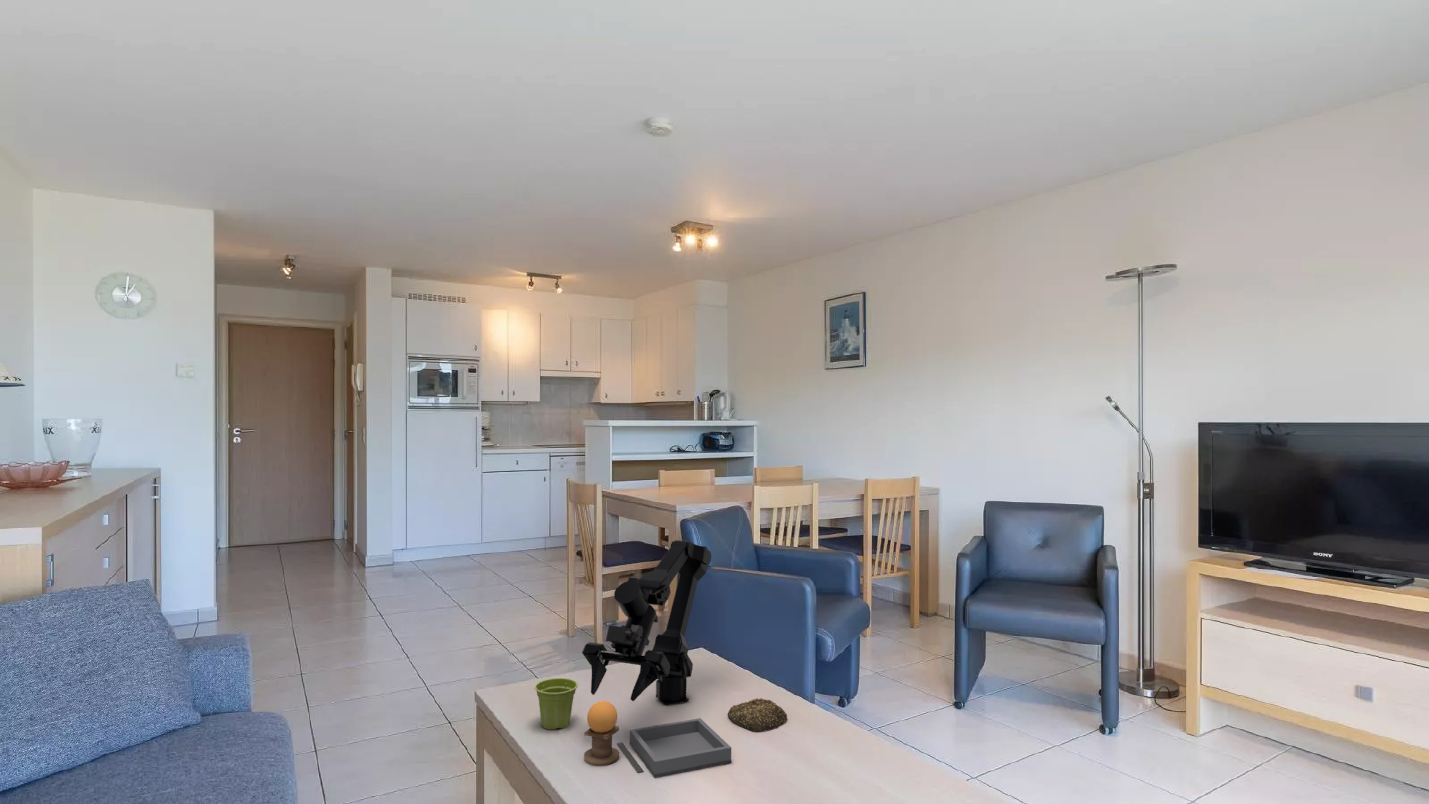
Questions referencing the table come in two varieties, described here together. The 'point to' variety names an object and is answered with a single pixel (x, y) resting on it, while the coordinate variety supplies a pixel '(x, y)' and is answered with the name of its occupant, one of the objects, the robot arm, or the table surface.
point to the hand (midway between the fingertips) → (611, 697)
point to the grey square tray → (679, 747)
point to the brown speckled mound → (757, 715)
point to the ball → (602, 717)
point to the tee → (601, 748)
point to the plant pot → (555, 701)
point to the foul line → (630, 757)
